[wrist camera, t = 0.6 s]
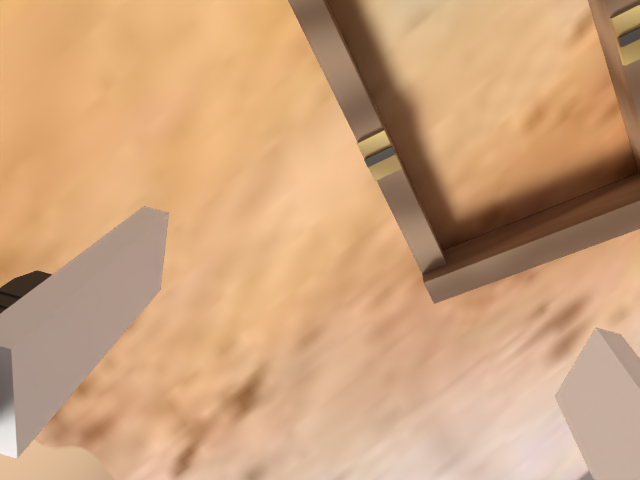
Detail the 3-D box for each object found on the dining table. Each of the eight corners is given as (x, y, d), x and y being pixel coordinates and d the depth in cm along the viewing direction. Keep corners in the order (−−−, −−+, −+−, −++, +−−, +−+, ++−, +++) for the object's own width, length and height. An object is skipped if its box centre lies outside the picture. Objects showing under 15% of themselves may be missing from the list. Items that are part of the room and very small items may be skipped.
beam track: (247, -93, 31) (229, -109, 27) (545, -301, 25) (572, -357, 22) (429, 279, 40) (433, 304, 36) (676, 184, 35) (710, 202, 31)
